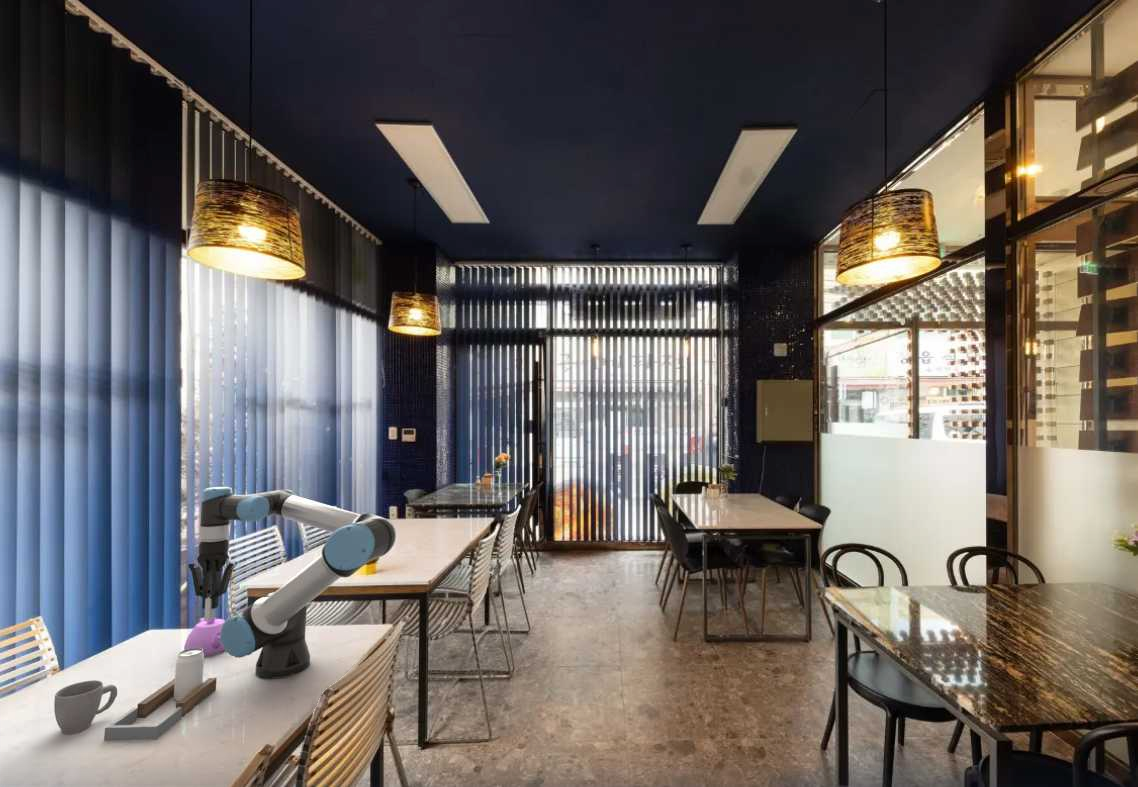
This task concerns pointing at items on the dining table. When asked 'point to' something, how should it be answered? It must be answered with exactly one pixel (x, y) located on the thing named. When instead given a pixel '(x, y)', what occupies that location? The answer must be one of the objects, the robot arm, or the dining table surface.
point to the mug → (80, 705)
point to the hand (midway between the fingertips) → (209, 619)
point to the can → (188, 672)
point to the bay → (140, 727)
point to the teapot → (206, 637)
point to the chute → (168, 692)
